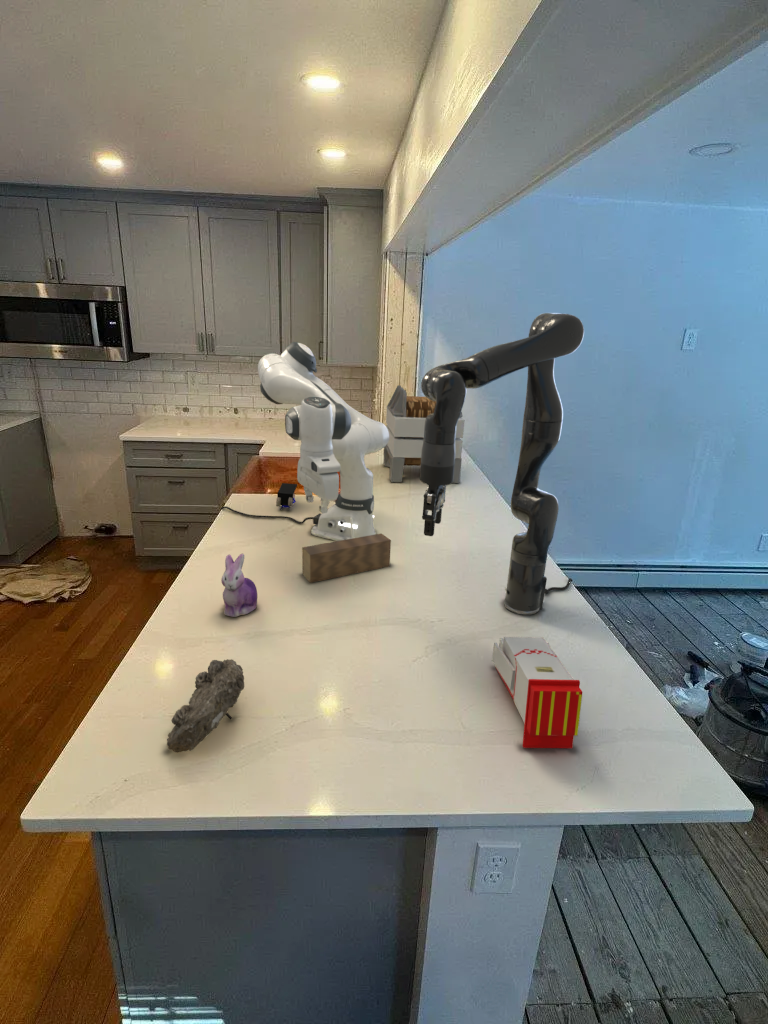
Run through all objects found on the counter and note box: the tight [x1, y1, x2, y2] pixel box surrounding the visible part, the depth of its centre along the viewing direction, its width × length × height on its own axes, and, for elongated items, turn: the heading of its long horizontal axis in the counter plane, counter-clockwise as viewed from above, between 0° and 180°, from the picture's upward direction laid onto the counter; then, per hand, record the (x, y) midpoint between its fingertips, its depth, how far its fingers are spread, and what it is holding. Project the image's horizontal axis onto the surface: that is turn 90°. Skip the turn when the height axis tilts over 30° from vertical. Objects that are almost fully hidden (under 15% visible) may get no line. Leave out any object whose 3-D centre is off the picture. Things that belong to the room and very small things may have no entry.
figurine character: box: [275, 482, 298, 511], centre depth 221 cm, size 7×8×15 cm
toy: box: [491, 636, 583, 749], centre depth 115 cm, size 12×13×30 cm
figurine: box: [220, 553, 258, 618], centre depth 144 cm, size 9×10×15 cm
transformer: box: [383, 384, 465, 484], centre depth 268 cm, size 34×33×41 cm
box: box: [301, 533, 392, 584], centre depth 169 cm, size 26×6×9 cm, turn 120°
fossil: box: [166, 658, 245, 754], centre depth 106 cm, size 22×10×15 cm
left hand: (316, 507), depth 158 cm, fingers open, 8 cm apart
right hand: (432, 528), depth 132 cm, fingers open, 8 cm apart
